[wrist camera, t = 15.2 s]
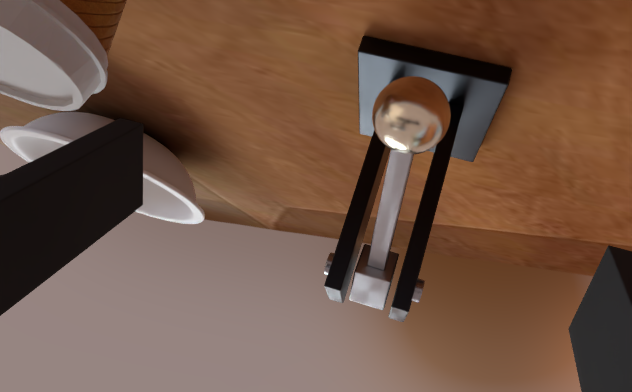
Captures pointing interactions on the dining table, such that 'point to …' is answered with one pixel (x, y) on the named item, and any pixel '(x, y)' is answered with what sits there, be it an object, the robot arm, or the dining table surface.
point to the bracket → (459, 142)
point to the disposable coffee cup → (56, 49)
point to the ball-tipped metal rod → (397, 173)
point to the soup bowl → (158, 162)
